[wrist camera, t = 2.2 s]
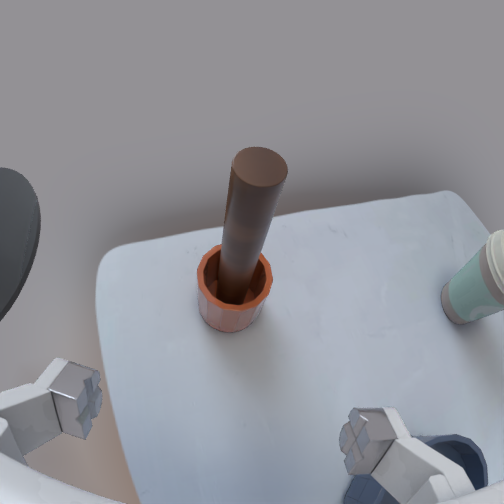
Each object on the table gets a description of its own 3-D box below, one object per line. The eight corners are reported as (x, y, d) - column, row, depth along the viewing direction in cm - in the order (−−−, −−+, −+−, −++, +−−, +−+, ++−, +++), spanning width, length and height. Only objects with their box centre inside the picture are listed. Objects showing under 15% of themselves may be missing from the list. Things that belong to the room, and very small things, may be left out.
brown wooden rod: (217, 315, 29) (235, 187, 14) (213, 289, 30) (229, 146, 15) (244, 313, 30) (293, 186, 14) (240, 287, 31) (281, 146, 15)
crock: (201, 335, 29) (201, 314, 23) (195, 277, 31) (194, 243, 26) (263, 329, 30) (278, 307, 24) (253, 272, 32) (265, 239, 27)
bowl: (346, 572, 18) (372, 594, 13) (330, 462, 24) (358, 470, 19) (454, 519, 20) (488, 525, 15) (444, 418, 27) (480, 412, 22)
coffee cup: (439, 338, 32) (513, 299, 21) (426, 271, 36) (487, 218, 25) (484, 331, 33) (550, 295, 22) (469, 273, 37) (527, 227, 26)
